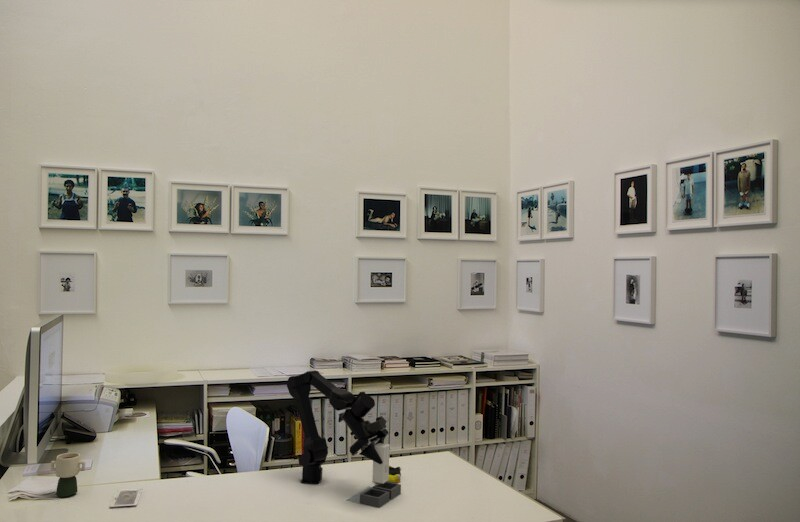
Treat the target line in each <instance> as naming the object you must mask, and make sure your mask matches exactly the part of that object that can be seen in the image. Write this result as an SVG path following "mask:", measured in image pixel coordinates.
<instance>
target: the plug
mask: <svg viewBox="0 0 800 522" xmlns="http://www.w3.org/2000/svg"><path fill="white" fill-rule="evenodd" d="M390 446H391V445H390V444H388V443H384V444H383V443H378V444H376V445H375V450H376V451H377V453H378V455H379V456H380V458H381V460H382V462H383V463H382V464H378V463H377V462H375V461H373V460H372V461H373V462H372V482H373V483H377V484H378V483H382V484H383V483H385V482H387V481H388V478H389V465H390V450H391V449H390Z"/></svg>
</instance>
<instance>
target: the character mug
mask: <svg viewBox="0 0 800 522" xmlns="http://www.w3.org/2000/svg"><path fill="white" fill-rule="evenodd" d="M85 469H86V461H84V460H81V454H80V453H79V452H65V453H60V454H58V455H57V456H56V458H55V460H51V462H50V471H52V472H55V476H56V477H57V478H58V480H57V485H56V491H55V495H56V496H58V497H62V498H64V497H69V496H72V495H74V494H77V493H78V482H77V475H79V474H80V472H85Z"/></svg>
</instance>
